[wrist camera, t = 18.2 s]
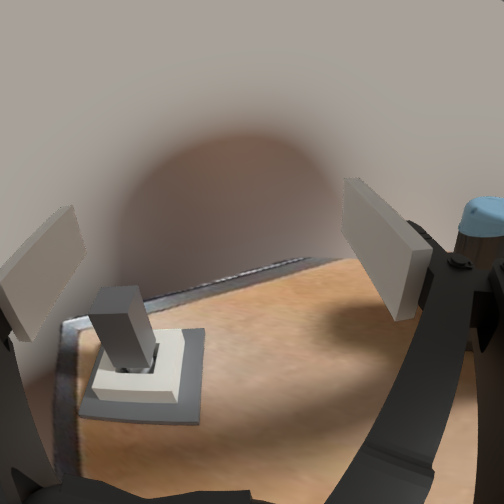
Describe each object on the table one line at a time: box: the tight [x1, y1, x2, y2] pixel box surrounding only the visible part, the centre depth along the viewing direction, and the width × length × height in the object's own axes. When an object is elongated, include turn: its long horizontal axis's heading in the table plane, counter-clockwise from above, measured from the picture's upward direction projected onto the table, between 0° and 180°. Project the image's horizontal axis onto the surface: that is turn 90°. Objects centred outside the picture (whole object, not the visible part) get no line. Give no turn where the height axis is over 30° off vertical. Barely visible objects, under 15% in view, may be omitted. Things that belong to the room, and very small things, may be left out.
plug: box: [88, 285, 156, 374], centre depth 41 cm, size 6×6×14 cm
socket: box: [78, 328, 205, 425], centre depth 44 cm, size 18×18×4 cm
